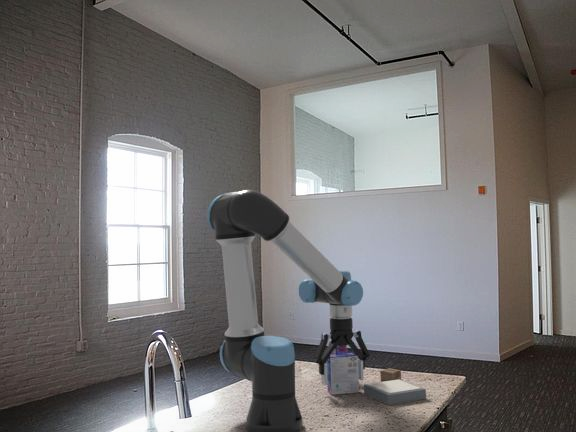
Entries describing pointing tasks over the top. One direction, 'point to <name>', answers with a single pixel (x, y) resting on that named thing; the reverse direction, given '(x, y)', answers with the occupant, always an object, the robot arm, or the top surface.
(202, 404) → the top surface
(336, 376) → the ink cartridge box
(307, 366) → the top surface
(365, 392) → the plinth
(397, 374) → the walnut block
